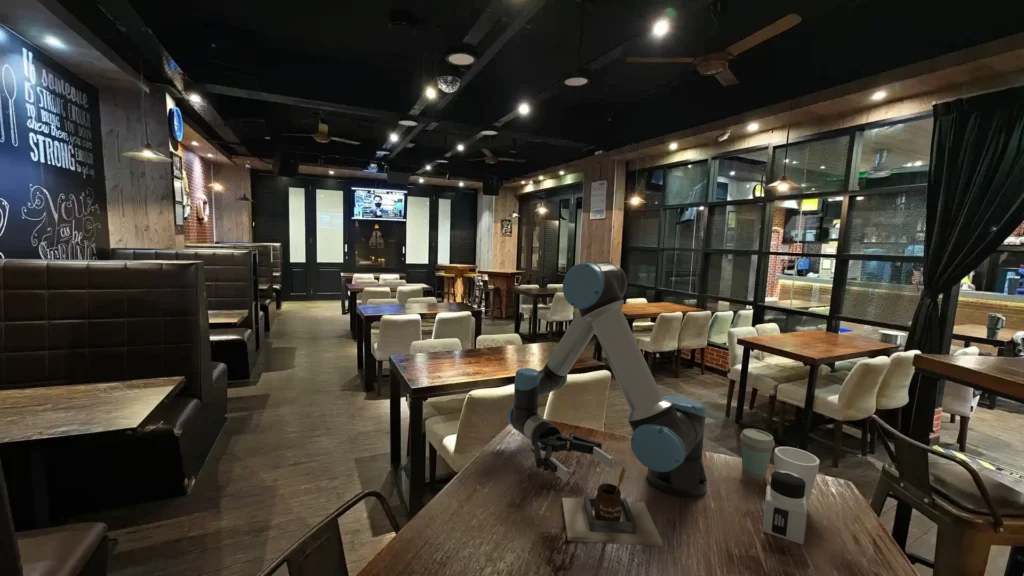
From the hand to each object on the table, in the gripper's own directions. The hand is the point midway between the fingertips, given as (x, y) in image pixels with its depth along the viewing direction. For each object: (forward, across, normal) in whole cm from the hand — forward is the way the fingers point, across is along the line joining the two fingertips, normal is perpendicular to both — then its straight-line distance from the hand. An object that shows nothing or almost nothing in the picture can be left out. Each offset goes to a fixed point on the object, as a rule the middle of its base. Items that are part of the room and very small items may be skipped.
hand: (589, 469), depth 104 cm
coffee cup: (+9, -52, -9) cm, 54 cm away
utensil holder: (+7, 0, -8) cm, 11 cm away
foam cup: (+22, -47, -9) cm, 53 cm away
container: (+27, -35, -9) cm, 45 cm away
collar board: (+7, 0, -9) cm, 12 cm away
